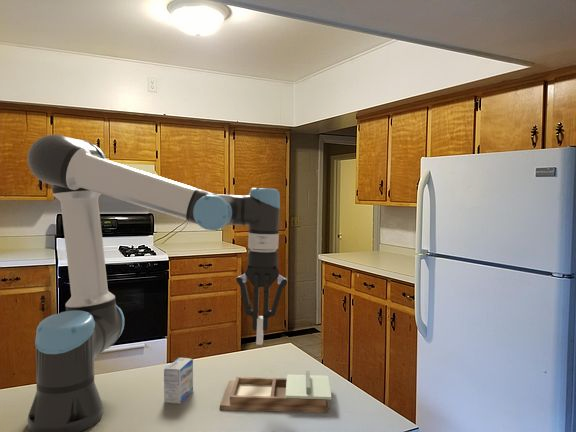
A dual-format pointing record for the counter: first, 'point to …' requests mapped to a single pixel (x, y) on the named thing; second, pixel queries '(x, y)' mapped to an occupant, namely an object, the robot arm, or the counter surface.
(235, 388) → the brown compartment box
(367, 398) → the counter surface
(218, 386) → the counter surface
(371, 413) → the counter surface
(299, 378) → the lid
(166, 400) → the medicine box
